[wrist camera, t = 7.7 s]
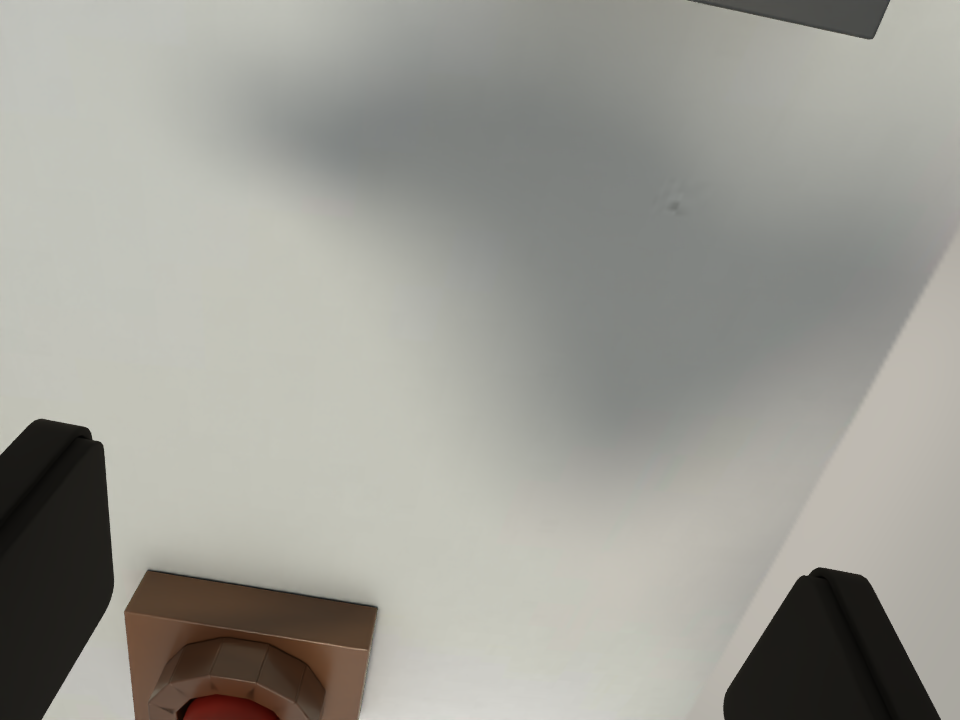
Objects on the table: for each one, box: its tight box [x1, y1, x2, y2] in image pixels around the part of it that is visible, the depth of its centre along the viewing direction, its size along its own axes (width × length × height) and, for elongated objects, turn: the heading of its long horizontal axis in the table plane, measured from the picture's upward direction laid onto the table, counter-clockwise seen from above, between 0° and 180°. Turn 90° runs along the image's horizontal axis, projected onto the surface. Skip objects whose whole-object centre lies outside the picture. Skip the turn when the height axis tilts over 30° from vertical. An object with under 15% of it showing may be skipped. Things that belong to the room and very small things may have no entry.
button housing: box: [124, 571, 377, 720], centre depth 32 cm, size 10×8×4 cm
